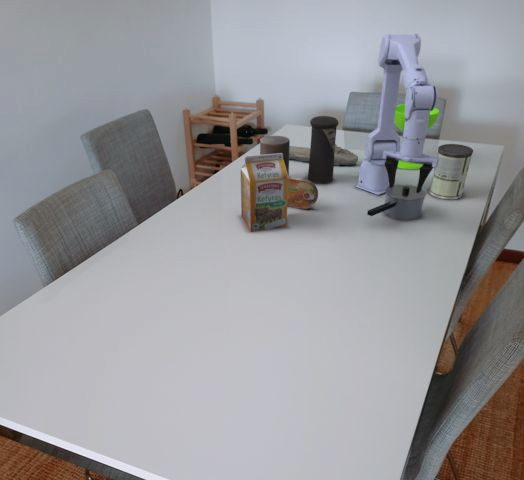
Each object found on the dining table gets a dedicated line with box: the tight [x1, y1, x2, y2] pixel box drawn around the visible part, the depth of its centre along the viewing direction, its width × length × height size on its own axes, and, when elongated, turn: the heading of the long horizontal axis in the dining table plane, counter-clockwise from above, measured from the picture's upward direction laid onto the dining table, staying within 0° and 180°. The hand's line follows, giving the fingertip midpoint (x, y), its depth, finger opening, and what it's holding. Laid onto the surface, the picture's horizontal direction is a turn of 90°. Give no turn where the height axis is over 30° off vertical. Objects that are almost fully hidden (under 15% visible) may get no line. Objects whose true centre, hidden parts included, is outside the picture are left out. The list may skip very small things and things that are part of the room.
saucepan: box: [366, 184, 427, 221], centre depth 148 cm, size 12×22×8 cm, turn 131°
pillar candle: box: [259, 135, 290, 177], centre depth 168 cm, size 10×10×15 cm
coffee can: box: [428, 143, 474, 200], centre depth 160 cm, size 10×10×14 cm
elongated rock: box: [289, 143, 359, 167], centre depth 189 cm, size 35×5×10 cm
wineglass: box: [394, 103, 440, 170], centre depth 183 cm, size 16×16×18 cm
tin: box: [287, 176, 319, 210], centre depth 154 cm, size 15×3×8 cm, turn 62°
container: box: [307, 115, 340, 185], centre depth 167 cm, size 9×9×20 cm
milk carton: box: [240, 153, 288, 233], centre depth 141 cm, size 11×11×19 cm
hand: (404, 189), depth 139 cm, fingers open, 7 cm apart
